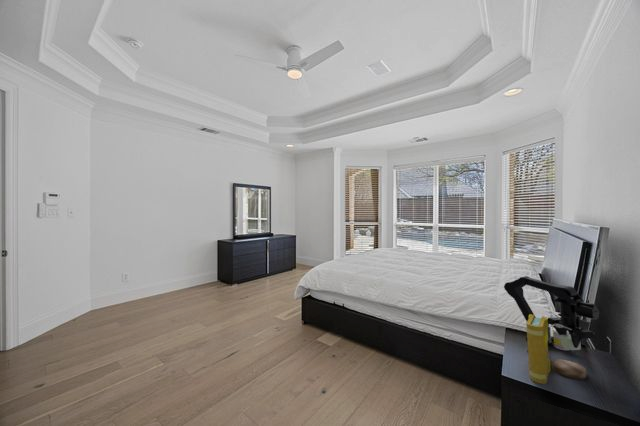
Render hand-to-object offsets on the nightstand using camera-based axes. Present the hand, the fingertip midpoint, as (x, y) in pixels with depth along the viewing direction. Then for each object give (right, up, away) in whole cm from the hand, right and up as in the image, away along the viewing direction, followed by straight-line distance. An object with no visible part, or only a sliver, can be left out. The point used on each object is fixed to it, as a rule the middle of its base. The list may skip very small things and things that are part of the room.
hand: (570, 345), depth 126 cm
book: (-19, -12, -4) cm, 23 cm away
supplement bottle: (+13, -11, +18) cm, 25 cm away
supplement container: (+9, -12, +28) cm, 31 cm away
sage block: (0, -1, 0) cm, 1 cm away
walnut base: (-4, -11, -3) cm, 12 cm away
